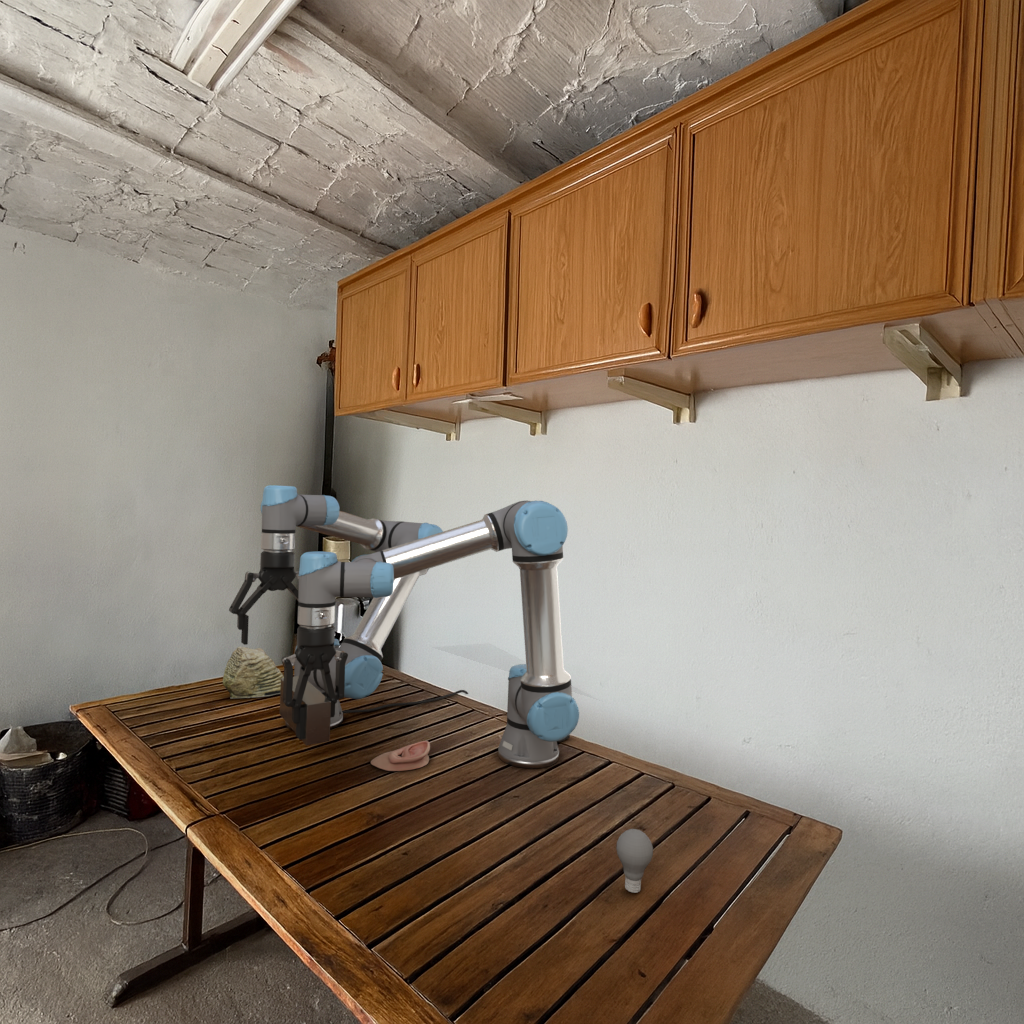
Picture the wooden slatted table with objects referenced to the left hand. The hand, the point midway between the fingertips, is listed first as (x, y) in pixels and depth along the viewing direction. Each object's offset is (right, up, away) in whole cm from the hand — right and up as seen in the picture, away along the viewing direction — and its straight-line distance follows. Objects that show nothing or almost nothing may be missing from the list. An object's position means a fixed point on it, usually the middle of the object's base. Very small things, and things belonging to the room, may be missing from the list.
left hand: (274, 640), depth 150 cm
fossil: (-25, -27, +48) cm, 61 cm away
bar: (+10, -17, -10) cm, 22 cm away
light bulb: (+76, -33, -44) cm, 94 cm away
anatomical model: (+29, -30, +3) cm, 42 cm away
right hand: (+14, -17, -16) cm, 27 cm away
